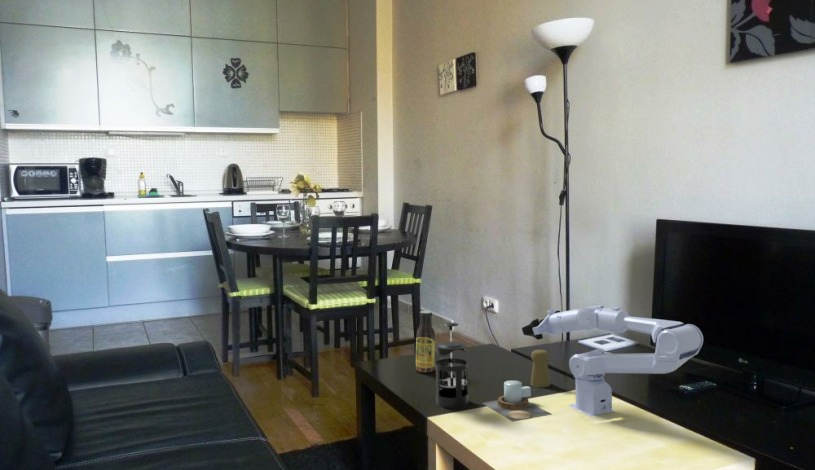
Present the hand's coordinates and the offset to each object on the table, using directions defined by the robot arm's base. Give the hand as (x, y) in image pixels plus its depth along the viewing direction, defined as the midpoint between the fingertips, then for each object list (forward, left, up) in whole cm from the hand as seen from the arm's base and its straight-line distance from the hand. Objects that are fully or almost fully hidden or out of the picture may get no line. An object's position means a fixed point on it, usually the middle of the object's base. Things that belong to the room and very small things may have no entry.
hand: (532, 327), depth 187 cm
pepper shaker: (+3, -5, -19) cm, 20 cm away
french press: (0, +27, -19) cm, 33 cm away
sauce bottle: (+34, +19, -19) cm, 44 cm away
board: (-12, +13, -19) cm, 26 cm away
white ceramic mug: (-9, +11, -18) cm, 23 cm away
